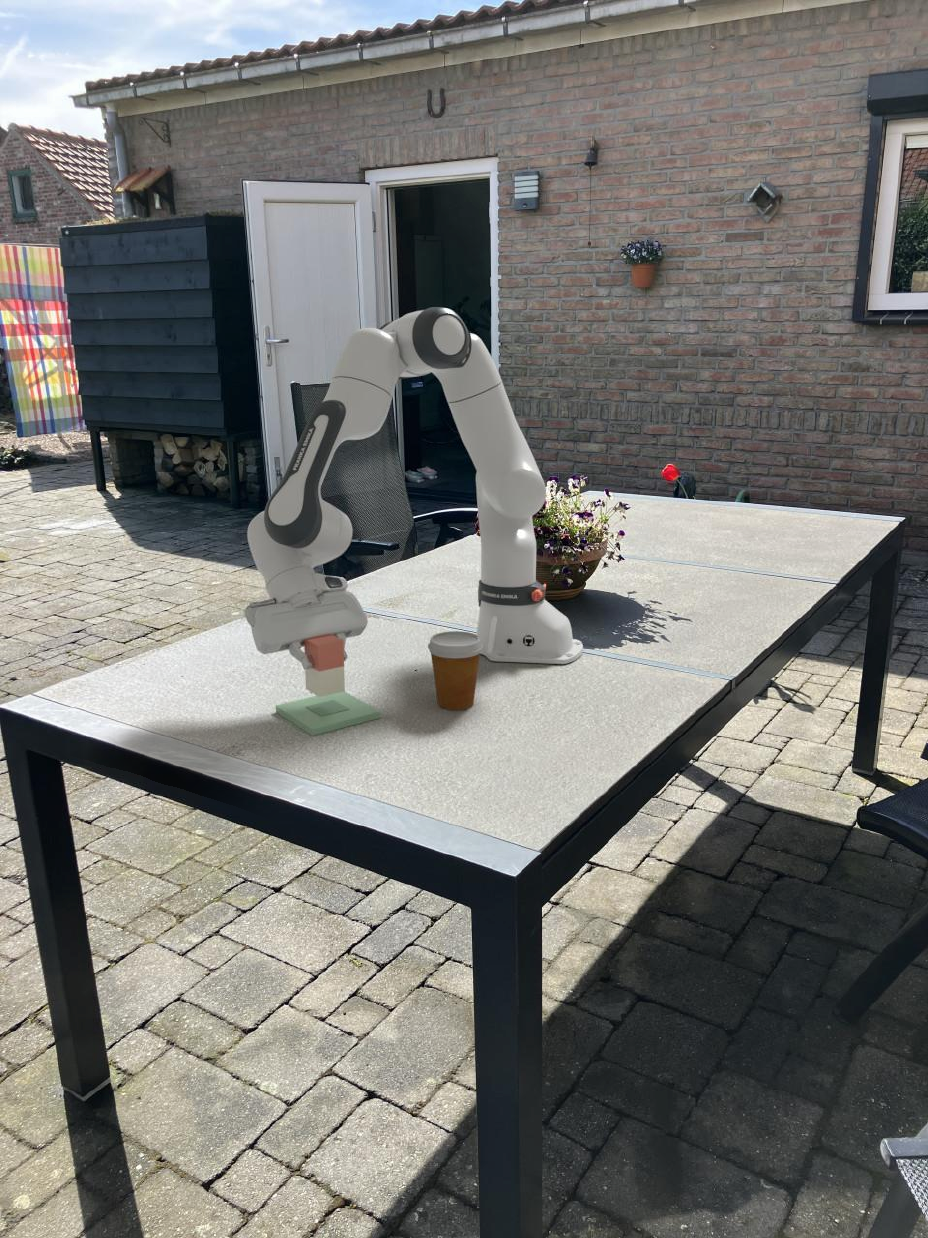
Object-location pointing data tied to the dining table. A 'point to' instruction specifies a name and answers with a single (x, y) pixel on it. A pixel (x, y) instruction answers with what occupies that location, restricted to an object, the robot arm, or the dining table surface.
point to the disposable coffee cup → (455, 667)
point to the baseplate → (327, 712)
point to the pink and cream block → (325, 665)
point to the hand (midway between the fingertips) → (326, 663)
